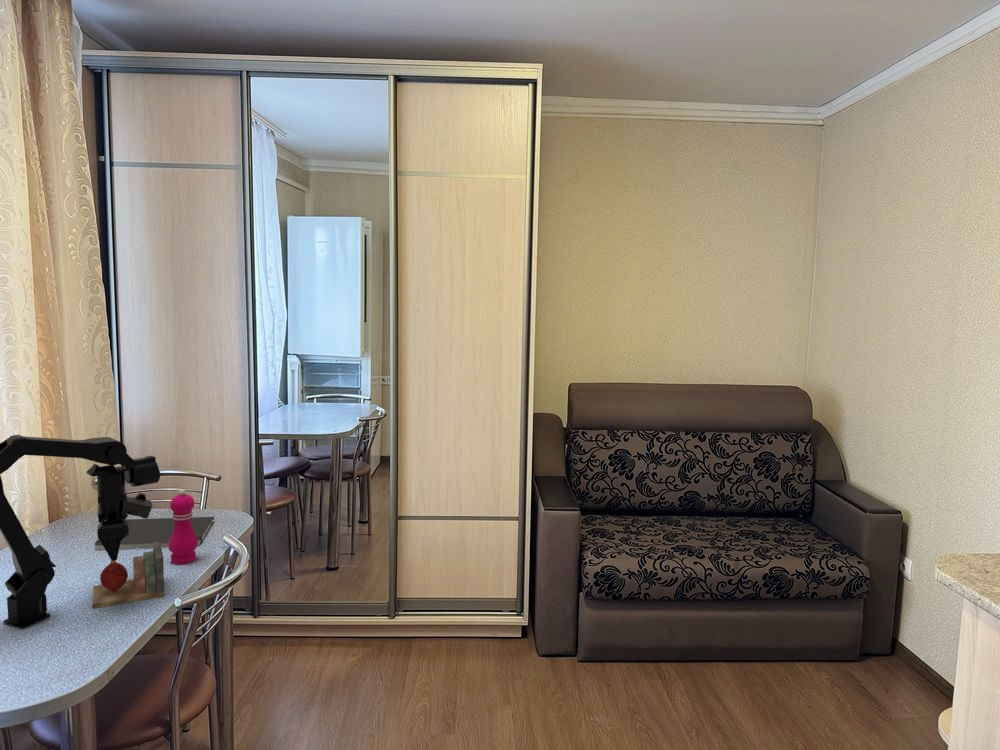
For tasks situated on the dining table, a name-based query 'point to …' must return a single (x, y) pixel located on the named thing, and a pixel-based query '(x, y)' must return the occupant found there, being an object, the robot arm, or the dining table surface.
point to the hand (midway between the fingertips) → (114, 553)
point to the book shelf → (118, 595)
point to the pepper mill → (182, 530)
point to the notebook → (157, 532)
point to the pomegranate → (113, 576)
